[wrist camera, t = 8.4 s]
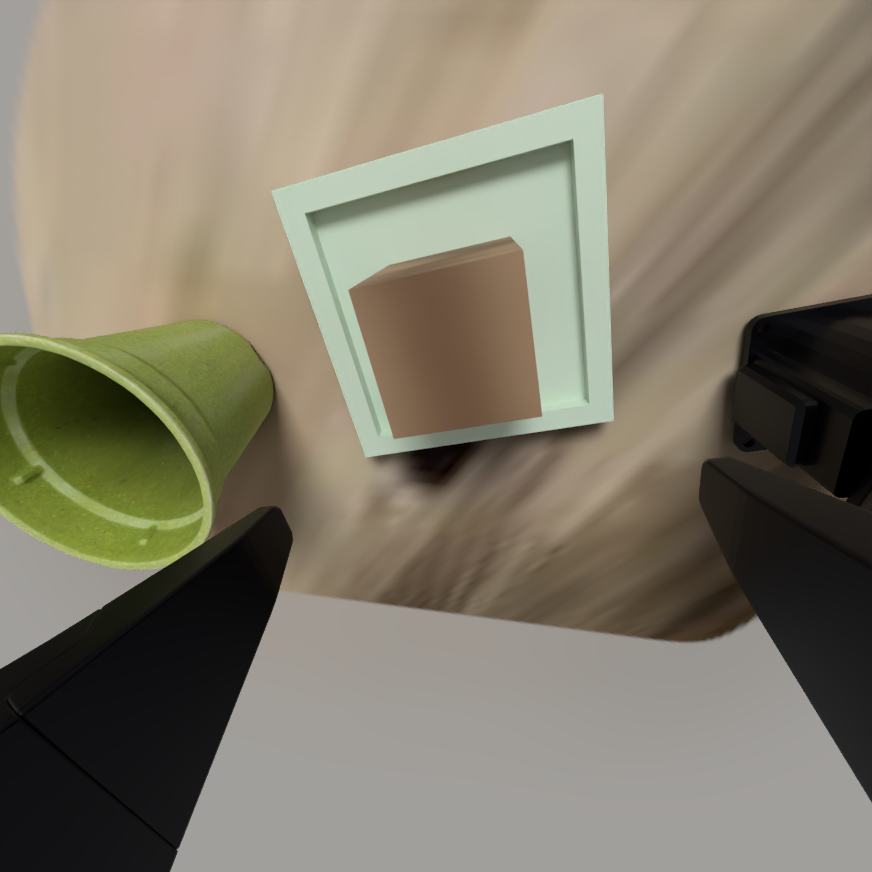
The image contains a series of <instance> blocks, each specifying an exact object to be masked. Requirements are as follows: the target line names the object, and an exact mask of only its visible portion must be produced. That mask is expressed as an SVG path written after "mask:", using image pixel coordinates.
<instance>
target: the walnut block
mask: <svg viewBox="0 0 872 872" xmlns="http://www.w3.org/2000/svg"><path fill="white" fill-rule="evenodd" d="M348 291H349V294H350V298H351V301H352V304H353V307H354V311H355V314H356V317H357V321H358V324H359V327H360V330H361V334H362V337H363V340H364V343H365V347H366V350H367V353H368V356H369V360H370V363H371V366H372V369H373V373H374V376H375V379H376V382H377V386H378V389H379V392H380V395H381V399H382V402H383V405H384V408H385V412H386V415H387V418H388V421H389V425H390V428H391V431H392V435H393V438H394V439H398V438H405V437H411V436H418V435H424V434H431V433H438V432H444V431H451V430H457V429H464V428H471V427H477V426H484V425H490V424H497V423H504V422H510V421H517V420H524V419H530V418H537V417H542V409H541V400H540V392H539V383H538V374H537V366H536V357H535V348H534V340H533V331H532V322H531V314H530V305H529V296H528V288H527V279H526V270H525V262H524V253H523V249H522V248H521V247H520V246H519V245H518V244H517V243H516V242H515V241H514V240H513V239H512V238H511V237H505V238H501V239H497V240H493V241H488V242H484V243H480V244H476V245H471V246H467V247H463V248H459V249H455V250H450V251H446V252H442V253H438V254H433V255H429V256H425V257H421V258H416V259H412V260H408V261H404V262H400V263H395V264H391V265H388V266H387V267H385V268H383V269H382V270H380V271H378V272H377V273H375V274H374V275H372V276H370V277H369V278H367V279H365V280H364V281H362V282H360V283H359V284H357V285H356V286H354V287H352V288H351V289H349V290H348Z"/></svg>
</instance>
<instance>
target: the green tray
mask: <svg viewBox="0 0 872 872" xmlns="http://www.w3.org/2000/svg"><path fill="white" fill-rule="evenodd" d="M271 192H272V195H273V198H274V201H275V204H276V206H277V209H278V212H279V215H280V218H281V220H282V223H283V226H284V229H285V232H286V235H287V237H288V240H289V243H290V246H291V249H292V251H293V254H294V257H295V260H296V263H297V265H298V268H299V271H300V274H301V277H302V280H303V282H304V285H305V288H306V291H307V294H308V296H309V299H310V302H311V305H312V308H313V310H314V313H315V316H316V319H317V322H318V325H319V327H320V330H321V333H322V336H323V339H324V341H325V344H326V347H327V350H328V353H329V355H330V358H331V361H332V364H333V367H334V370H335V372H336V375H337V378H338V381H339V384H340V386H341V389H342V392H343V395H344V398H345V400H346V403H347V406H348V409H349V412H350V415H351V417H352V420H353V423H354V426H355V429H356V431H357V434H358V437H359V440H360V443H361V446H362V448H363V451H364V454H365V457H372V456H379V455H386V454H392V453H399V452H406V451H413V450H419V449H426V448H433V447H440V446H446V445H453V444H460V443H467V442H473V441H480V440H487V439H494V438H500V437H507V436H514V435H521V434H527V433H534V432H541V431H548V430H554V429H561V428H568V427H575V426H581V425H588V424H595V423H602V422H608V421H614V412H613V382H612V351H611V320H610V289H609V258H608V228H607V197H606V166H605V135H604V105H603V93H602V94H598V95H595V96H591V97H588V98H585V99H581V100H578V101H575V102H571V103H568V104H564V105H561V106H558V107H554V108H551V109H547V110H544V111H541V112H537V113H534V114H530V115H527V116H524V117H520V118H517V119H513V120H510V121H507V122H503V123H500V124H496V125H493V126H490V127H486V128H483V129H479V130H476V131H473V132H469V133H466V134H462V135H459V136H456V137H452V138H449V139H445V140H442V141H439V142H435V143H432V144H428V145H425V146H422V147H418V148H415V149H412V150H408V151H405V152H401V153H398V154H395V155H391V156H388V157H384V158H381V159H378V160H374V161H371V162H367V163H364V164H361V165H357V166H354V167H350V168H347V169H344V170H340V171H337V172H333V173H330V174H327V175H323V176H320V177H316V178H313V179H310V180H306V181H303V182H299V183H296V184H293V185H289V186H286V187H282V188H279V189H276V190H272V191H271ZM505 237H511V238H512V239H513V240H514V241H515V242H516V243H517V244H518V245H519V246H520V247H521V248H522V249H523V253H524V262H525V270H526V279H527V288H528V296H529V305H530V314H531V322H532V331H533V340H534V348H535V357H536V366H537V374H538V383H539V392H540V400H541V409H542V417H537V418H530V419H524V420H517V421H510V422H504V423H497V424H490V425H484V426H477V427H471V428H464V429H457V430H451V431H444V432H438V433H431V434H424V435H418V436H411V437H405V438H398V439H394V438H393V435H392V431H391V428H390V425H389V421H388V418H387V415H386V412H385V408H384V405H383V402H382V399H381V395H380V392H379V389H378V386H377V382H376V379H375V376H374V373H373V369H372V366H371V363H370V360H369V356H368V353H367V350H366V347H365V343H364V340H363V337H362V334H361V330H360V327H359V324H358V321H357V317H356V314H355V311H354V307H353V304H352V301H351V298H350V294H349V291H348V290H349V289H351V288H352V287H354V286H356V285H357V284H359V283H360V282H362V281H364V280H365V279H367V278H369V277H370V276H372V275H374V274H375V273H377V272H378V271H380V270H382V269H383V268H385V267H387V266H388V265H391V264H395V263H400V262H404V261H408V260H412V259H416V258H421V257H425V256H429V255H433V254H438V253H442V252H446V251H450V250H455V249H459V248H463V247H467V246H471V245H476V244H480V243H484V242H488V241H493V240H497V239H501V238H505Z"/></svg>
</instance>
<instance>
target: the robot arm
mask: <svg viewBox="0 0 872 872" xmlns="http://www.w3.org/2000/svg"><path fill="white" fill-rule="evenodd" d="M764 323H766V327H765V329H764V330H763V331H761V332H758V329H759V327H760V326H761V325H762V324H764ZM732 419H733V420H734V421H735V428H734V437H733V443H734V445H735V446H736V447H737V448H738V449H739V450H741V451H743V452H750V451H758V450H766V449H768V450H769V451H770V452H771V453H773V454H774V455H775V456H776V457H777V458H779V459H780V460H781V461H782V462H783V463H785V464H786V465H787V466H789V467H791V468H792V467H800V468H802V469H803V470H804V471H805V472H806V473H808V474H809V475H810V476H811V477H813V478H814V479H815V480H816V481H817V482H819V483H820V484H821V485H822V486H824V487H825V488H826V489H827V490H828V491H830V492H831V493H832V494H833V495H835V496H836V497H838V498H846V497H848V499H847V500H846V502H845V501H842V500H839V499H837V498H834V497H832V496H829V495H827V494H824V493H821V492H819V491H816V490H814V489H811V488H808V487H806V486H803V485H801V484H798V483H795V482H793V481H790V480H788V479H785V478H782V477H780V476H777V475H775V474H772V473H770V472H767V471H764V470H762V469H759V468H757V467H754V466H751V465H749V464H746V463H744V462H741V461H738V460H736V459H733V458H730V457H721V458H712V459H706V460H705V461H704V462H703V464H702V469H701V479H700V488H699V501H700V504H701V507H702V509H703V512H704V514H705V516H706V518H707V520H708V522H709V525H710V527H711V529H712V531H713V533H714V535H715V538H716V540H717V542H718V544H719V546H720V549H721V551H722V553H723V555H724V557H725V559H726V562H727V564H728V566H729V568H730V570H731V572H732V574H733V576H734V577H735V579H736V581H737V583H738V584H739V586H740V588H741V590H742V591H743V593H744V594H745V596H746V598H747V599H748V601H749V603H750V604H751V606H752V607H753V609H754V611H755V612H756V614H757V616H758V617H759V619H760V621H761V622H762V623H763V625H764V627H765V629H766V630H767V632H768V633H769V635H770V637H771V639H772V640H773V642H774V643H775V645H776V647H777V648H778V650H779V652H780V653H781V655H782V656H783V658H784V660H785V661H786V663H787V665H788V666H789V668H790V670H791V671H792V673H793V675H794V676H795V678H796V679H797V681H798V683H799V684H800V686H801V687H802V689H803V691H804V692H805V694H806V696H807V697H808V699H809V701H810V702H811V704H812V705H813V707H814V709H815V710H816V712H817V714H818V715H819V717H820V719H821V720H822V722H823V723H824V725H825V727H826V728H827V730H828V732H829V733H830V735H831V737H832V738H833V740H834V741H835V743H836V745H837V746H838V748H839V750H840V751H841V753H842V755H843V756H844V758H845V759H846V761H847V763H848V764H849V766H850V768H851V769H852V771H853V773H854V774H855V776H856V777H857V779H858V781H859V782H860V784H861V786H862V787H863V789H864V791H865V792H866V794H867V795H868V797H869V799H870V800H871V802H872V294H870V295H865V296H859V297H854V298H848V299H843V300H838V301H832V302H827V303H821V304H816V305H810V306H805V307H799V308H794V309H788V310H783V311H777V312H772V313H767V314H761V315H758V316H756V317H754V318H753V319H751V321H750V322H749V323H748V325H747V328H746V335H745V344H744V352H743V361H742V366H741V367H740V368H739V370H738V371H737V379H736V388H735V397H734V406H733V415H732ZM749 438H750V440H749V441H748V442H746V443H744V441H745V440H746V439H749ZM292 542H293V536H292V532H291V529H290V527H289V525H288V523H287V521H286V519H285V517H284V515H283V513H282V511H281V509H280V508H279V507H277V506H268V507H261V508H258V509H257V510H255V511H254V512H252V513H250V514H249V515H247V516H246V517H244V518H242V519H241V520H239V521H238V522H236V523H235V524H233V525H231V526H230V527H228V528H227V529H225V530H223V531H222V532H220V533H219V534H217V535H216V536H214V537H212V538H211V539H209V540H208V541H206V542H204V543H203V544H201V545H200V546H198V547H197V548H195V549H193V550H192V551H190V552H189V553H187V554H185V555H184V556H182V557H181V558H179V559H178V560H176V561H174V562H173V563H171V564H170V565H168V566H166V567H165V568H163V569H162V570H160V571H159V572H157V573H155V574H154V575H152V576H151V577H149V578H147V579H146V580H144V581H143V582H141V583H140V584H138V585H136V586H135V587H133V588H132V589H130V590H128V591H127V592H125V593H124V594H122V595H121V596H119V597H117V598H116V599H114V600H113V601H111V602H110V603H108V604H106V605H105V606H103V607H102V609H99V610H97V611H95V612H93V613H92V614H90V615H89V616H87V617H86V618H84V619H82V620H81V621H79V622H78V623H76V624H75V625H73V626H71V627H69V628H68V629H66V630H65V631H63V632H61V633H60V634H58V635H57V636H55V637H53V638H52V639H50V640H49V641H47V642H45V643H43V644H42V645H40V646H38V647H37V648H35V649H33V650H32V651H30V652H28V653H27V654H25V655H23V656H22V657H20V658H18V659H16V660H15V661H13V662H11V663H10V664H8V665H6V666H5V667H3V668H1V669H0V872H170V870H171V868H172V865H173V862H174V860H175V857H176V855H177V852H178V851H177V849H178V848H179V846H180V844H181V841H182V839H183V836H184V834H185V831H186V829H187V826H188V824H189V821H190V818H191V816H192V813H193V811H194V808H195V806H196V803H197V801H198V798H199V795H200V793H201V791H202V788H203V786H204V783H205V780H206V778H207V775H208V773H209V770H210V768H211V765H212V763H213V760H214V758H215V755H216V752H217V750H218V747H219V745H220V742H221V740H222V737H223V735H224V732H225V730H226V727H227V724H228V722H229V720H230V717H231V714H232V712H233V709H234V707H235V704H236V702H237V699H238V697H239V694H240V691H241V689H242V686H243V684H244V681H245V679H246V676H247V674H248V671H249V669H250V666H251V664H252V661H253V659H254V656H255V653H256V651H257V648H258V646H259V643H260V641H261V638H262V635H263V633H264V631H265V628H266V625H267V623H268V620H269V618H270V615H271V613H272V610H273V607H274V604H275V602H276V598H277V595H278V592H279V589H280V585H281V582H282V578H283V574H284V571H285V567H286V564H287V560H288V557H289V553H290V550H291V546H292Z"/></svg>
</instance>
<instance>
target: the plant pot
mask: <svg viewBox="0 0 872 872" xmlns="http://www.w3.org/2000/svg"><path fill="white" fill-rule="evenodd" d="M272 402H273V383H272V378H271V375H270V372H269V370H268V368H267V367H266V366H265V365H264V364H263V363H262V361H261V360H260V359H259V357H258V356H257V355H256V353H255V352H254V350H253V348H252V347H251V345H250V343H249V342H248V341H247V340H246V339H245V338H243V337H242V336H241V335H239V334H238V333H236V332H235V331H233V330H231V329H229V328H227V327H225V326H223V325H220V324H218V323H214V322H210V321H203V320H191V321H185V322H179V323H173V324H168V325H162V326H157V327H151V328H146V329H140V330H134V331H128V332H122V333H116V334H111V335H105V336H98V337H93V338H87V339H73V338H50V337H46V336H40V335H33V334H24V333H2V334H0V514H1V515H3V516H4V517H5V518H6V519H8V520H9V521H10V522H12V523H13V524H15V525H16V526H17V527H19V528H20V529H22V530H23V531H25V532H27V533H28V534H29V535H31V536H33V537H35V538H36V539H38V540H40V541H42V542H43V543H45V544H47V545H50V546H51V547H53V548H55V549H58V550H60V551H61V552H64V553H66V554H68V555H71V556H74V557H77V558H80V559H83V560H85V561H88V562H91V563H95V564H99V565H103V566H106V567H112V568H117V569H125V570H149V569H158V568H163V567H166V566H168V565H170V564H171V563H173V562H174V561H176V560H178V559H179V558H181V557H182V556H184V555H185V554H187V553H189V552H190V551H192V550H193V549H195V548H197V547H198V546H200V545H201V544H203V543H204V542H205V541H206V540H207V538H208V537H209V535H210V533H211V531H212V529H213V526H214V523H215V520H216V513H217V503H218V501H219V499H220V496H221V493H222V490H223V486H224V482H225V480H226V478H227V477H228V475H229V474H230V472H231V470H232V469H233V467H234V466H235V464H236V462H237V461H238V459H239V458H240V456H241V455H242V453H243V452H244V450H245V448H246V447H247V445H248V444H249V442H250V441H251V439H252V438H253V436H254V435H255V433H256V432H257V430H258V429H259V427H260V426H261V424H262V423H263V421H264V419H265V418H266V416H267V415H268V413H269V411H270V409H271V406H272Z"/></svg>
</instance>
